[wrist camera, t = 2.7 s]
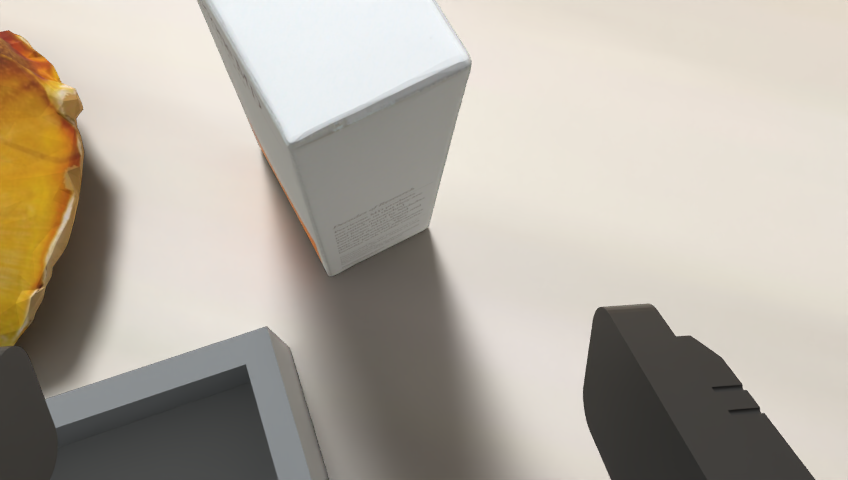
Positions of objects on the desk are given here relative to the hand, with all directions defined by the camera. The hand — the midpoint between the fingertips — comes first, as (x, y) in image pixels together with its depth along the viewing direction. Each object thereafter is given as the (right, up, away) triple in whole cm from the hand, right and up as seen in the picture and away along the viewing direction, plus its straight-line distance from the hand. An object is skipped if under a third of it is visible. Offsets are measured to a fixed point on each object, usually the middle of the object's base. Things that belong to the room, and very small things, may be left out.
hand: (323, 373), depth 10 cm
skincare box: (-1, +4, +15) cm, 16 cm away
